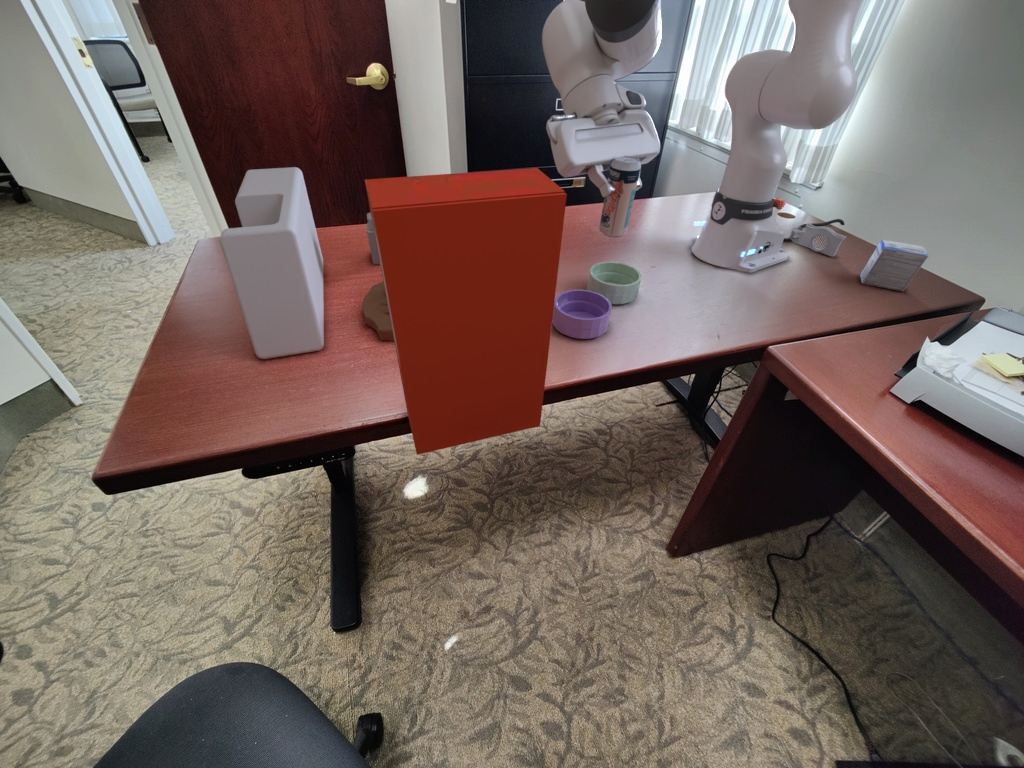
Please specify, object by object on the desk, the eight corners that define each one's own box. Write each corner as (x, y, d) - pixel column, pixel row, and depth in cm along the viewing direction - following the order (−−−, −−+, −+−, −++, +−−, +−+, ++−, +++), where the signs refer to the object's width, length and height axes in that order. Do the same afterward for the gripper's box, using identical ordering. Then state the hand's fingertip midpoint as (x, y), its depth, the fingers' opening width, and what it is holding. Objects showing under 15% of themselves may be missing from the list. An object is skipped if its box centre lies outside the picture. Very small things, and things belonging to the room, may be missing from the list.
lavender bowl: (591, 306, 86) (594, 286, 83) (617, 335, 79) (622, 314, 76) (543, 314, 83) (545, 294, 80) (566, 345, 76) (569, 323, 73)
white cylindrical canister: (595, 227, 79) (608, 154, 71) (621, 227, 79) (637, 155, 71) (602, 238, 75) (616, 163, 67) (629, 238, 75) (646, 164, 67)
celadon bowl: (620, 278, 95) (624, 258, 92) (646, 301, 88) (651, 281, 85) (578, 284, 92) (580, 265, 89) (601, 309, 85) (605, 289, 82)
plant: (356, 294, 86) (344, 239, 79) (451, 277, 93) (448, 225, 85) (375, 352, 73) (361, 293, 65) (484, 328, 79) (484, 271, 72)
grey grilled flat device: (786, 240, 113) (796, 217, 109) (789, 238, 114) (800, 216, 110) (832, 258, 106) (845, 234, 102) (836, 256, 107) (849, 232, 103)
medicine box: (899, 283, 97) (925, 246, 91) (903, 292, 94) (930, 254, 88) (858, 275, 99) (881, 238, 94) (861, 284, 96) (884, 246, 90)
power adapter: (386, 252, 101) (377, 199, 93) (387, 263, 97) (378, 208, 89) (372, 253, 100) (362, 199, 92) (373, 264, 96) (362, 209, 88)
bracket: (287, 320, 97) (244, 170, 85) (336, 313, 99) (301, 167, 88) (256, 361, 70) (188, 150, 58) (325, 350, 72) (273, 146, 61)
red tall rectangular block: (540, 428, 61) (567, 192, 40) (417, 457, 57) (372, 208, 35) (521, 391, 67) (535, 166, 45) (407, 415, 62) (364, 178, 41)
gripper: (552, 102, 64) (585, 191, 65) (650, 94, 73) (679, 173, 73) (533, 129, 70) (563, 211, 70) (626, 119, 78) (652, 192, 79)
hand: (623, 192), depth 72 cm, fingers closed on white cylindrical canister, 5 cm apart
